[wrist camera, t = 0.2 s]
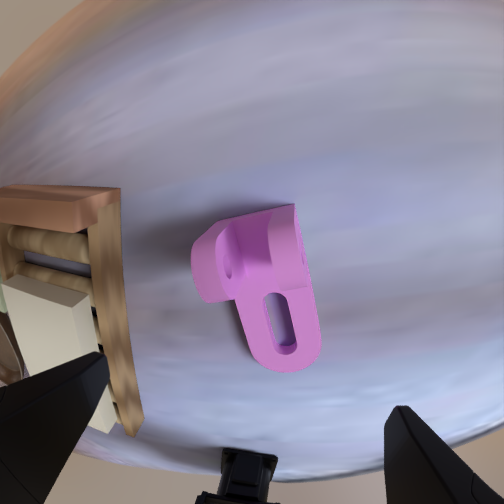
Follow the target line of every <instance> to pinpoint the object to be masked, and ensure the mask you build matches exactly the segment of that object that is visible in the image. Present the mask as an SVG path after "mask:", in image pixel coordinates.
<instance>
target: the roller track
mask: <svg viewBox="0 0 504 504" xmlns="http://www.w3.org/2000/svg"><path fill="white" fill-rule="evenodd" d="M87 227H88V235H87V234H80V233H76V232H78V231H80V230H82V229H84V228H87ZM24 250H25V251H29V252H34V253H38V254H42V255H47V256H52V257H56V258H61V259H65V260H70V261H75V262H80V263H85V264H90V265H91V274H92V278H87V277H83V276H79V275H74V274H70V273H66V272H62V271H58V270H54V269H50V268H46V267H42V266H38V265H34V264H30V263H27V262H25V256H24ZM0 271H1V276H2V280H3V282H4V281H6V280H8V279H10V278H11V277H13V276H15V275H17V274H19V275H22V276H25V277H29V278H32V279H35V280H39V281H42V282H45V283H49V284H52V285H56V286H59V287H63V288H66V289H70V290H74V291H77V292H81V293H85V294H89V298H90V304H91V306H92V307H95V308H96V311H97V317H95V316H93V322H94V328H95V333H96V338H97V343H98V344H101V345H103V349H104V350H101V349H99V352H100V353H102V354H105V355H106V357H107V360H108V365H109V370H110V379H109V382H108V384H107V385H108V388H109V392H110V396H111V399H112V403H113V406H114V409H115V413H116V416H117V421H116V422H117V423H119V424H122V425H123V426H124V429H125V432H126V435H129V436H131V437H135V435H136V433H137V431H138V430H139V428H140V426H141V424H142V422H143V420H144V414H143V410H142V405H141V400H140V395H139V390H138V385H137V380H136V374H135V368H134V363H133V356H132V350H131V343H130V336H129V328H128V320H127V312H126V302H125V292H124V280H123V266H122V249H121V218H120V188H109V187H88V186H59V185H10V186H6V187H2V188H0Z"/></svg>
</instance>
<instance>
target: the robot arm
mask: <svg viewBox="0 0 504 504" xmlns="http://www.w3.org/2000/svg"><path fill="white" fill-rule="evenodd" d="M109 379H110V370H109V365H108V360H107V357H106V355H105V354H102V353H100V352H97V351H93V352H91V353H88V354H86V355H83V356H81V357H78V358H76V359H73V360H71V361H68V362H66V363H63V364H61V365H58V366H56V367H53V368H50V369H48V370H45V371H43V372H40V373H38V374H35V375H32V376H30V377H27V378H25V379H22V380H19V381H17V382H14V383H11V384H9V385H7V386H3V387H0V504H44V502H45V500H46V498H47V496H48V494H49V492H50V491H51V489H52V487H53V485H54V483H55V481H56V479H57V477H58V476H59V474H60V472H61V470H62V469H63V467H64V465H65V463H66V461H67V460H68V458H69V456H70V454H71V453H72V451H73V449H74V447H75V446H76V444H77V442H78V440H79V439H80V437H81V435H82V434H83V432H84V430H85V428H86V427H87V425H88V423H89V422H90V420H91V418H92V416H93V414H94V412H95V410H96V408H97V406H98V404H99V401H100V399H101V397H102V395H103V393H104V390H105V388H106V386H107V384H108V382H109ZM277 462H278V457H276V456H270V455H263V454H255V453H249V452H243V451H237V450H231V449H223V451H222V462H221V474H222V476H221V480H220V483H219V487H218V491H217V495H216V494H212V493H208V492H205V491H203V492H202V494H201V495H199V496H197V499H196V502H195V504H280V503H268V502H267V497H268V489H269V483H270V481H271V480H272V477H273V474H274V471H275V468H276V465H277ZM384 474H385V484H386V497H387V504H504V499H503V498H502V497H501V496H500V495H498V494H497V493H496V492H495V491H494V490H492V489H491V488H490V487H489V486H488V485H487V484H486V483H485V482H484V481H483V480H482V479H481V478H480V477H479V476H478V475H477V474H476V473H473V470H472V469H471V468H470V467H469V466H468V465H467V464H466V463H465V462H464V461H463V460H462V459H461V458H460V457H459V456H458V455H457V454H456V453H455V452H454V451H453V450H452V449H451V448H450V447H449V446H448V445H447V444H446V443H445V442H444V441H443V440H442V439H441V438H440V437H439V436H438V435H437V434H436V433H435V432H434V431H433V430H432V429H431V428H430V427H429V426H428V425H427V424H426V423H425V422H424V421H423V420H422V419H421V418H420V417H419V416H418V415H417V414H416V413H415V412H414V411H413V410H412V409H411V408H410V407H409V406H396V407H394V409H393V411H392V412H391V414H390V416H389V417H388V419H387V421H386V423H385V426H384Z"/></svg>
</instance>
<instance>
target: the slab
mask: <svg viewBox="0 0 504 504" xmlns="http://www.w3.org/2000/svg"><path fill="white" fill-rule="evenodd" d="M1 286H2V290H3V294H4V298H5V302H6V306H7V310H8V313H9V317H10V320H11V324H12V327H13V330H14V333H15V336H16V339H17V342H18V345H19V348H20V351H21V354H22V357H23V359H24V362H25V365H26V367H27V370H28V372H29V375H30V376H32V375H35V374H38V373H40V372H43V371H45V370H48V369H50V368H53V367H56V366H58V365H61V364H63V363H66V362H68V361H71V360H73V359H76V358H78V357H81V356H83V355H86V354H88V353H91V352H93V351H97V352H99V347H98V343H97V338H96V333H95V328H94V322H93V316H92V311H91V304H90V298H89V294H85V293H81V292H77V291H74V290H70V289H66V288H63V287H59V286H56V285H52V284H49V283H45V282H42V281H39V280H35V279H32V278H29V277H25V276H22V275H19V274H17V275H15V276H13V277H11V278H10V279H8V280H6V281H4V282H3V283H1ZM116 421H117V416H116V413H115V409H114V406H113V403H112V399H111V396H110V392H109V388H108V385H107V386H106V388H105V390H104V393H103V395H102V397H101V399H100V401H99V404H98V406H97V408H96V410H95V412H94V414H93V416H92V418H91V420H90V422H89V423H88V426H90V427H93V428H95V429H97V430H100V431H102V432H105V433H107V434H108V433H109V432H110V430H111V429H112V427H113V425H114V424H115V422H116Z"/></svg>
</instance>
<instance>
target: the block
mask: <svg viewBox="0 0 504 504" xmlns="http://www.w3.org/2000/svg"><path fill="white" fill-rule="evenodd" d="M1 283H3V280H2V276H1V271H0V311H1V312H3V313H6V312H7V311H8V310H7V306H6V302H5V298H4V294H3V290H2V286H1Z"/></svg>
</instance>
